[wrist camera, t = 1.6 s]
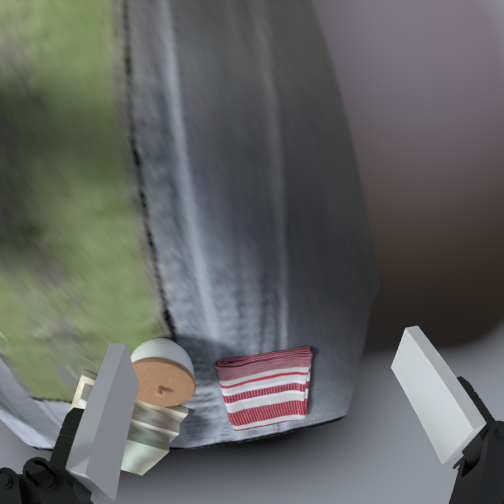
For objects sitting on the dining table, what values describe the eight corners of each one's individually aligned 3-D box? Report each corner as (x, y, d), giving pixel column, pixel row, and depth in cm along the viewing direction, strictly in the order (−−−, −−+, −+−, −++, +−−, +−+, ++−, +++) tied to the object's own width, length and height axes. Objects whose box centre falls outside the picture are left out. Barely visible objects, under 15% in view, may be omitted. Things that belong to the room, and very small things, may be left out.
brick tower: (66, 420, 53) (59, 452, 45) (83, 369, 46) (72, 408, 38) (148, 450, 61) (147, 481, 52) (188, 408, 54) (189, 447, 46)
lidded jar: (179, 379, 50) (178, 421, 41) (123, 358, 46) (114, 401, 38) (206, 341, 47) (208, 386, 38) (143, 316, 43) (134, 360, 35)
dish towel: (310, 341, 51) (314, 351, 49) (304, 412, 61) (307, 421, 59) (213, 358, 49) (214, 369, 47) (231, 425, 60) (232, 435, 57)
